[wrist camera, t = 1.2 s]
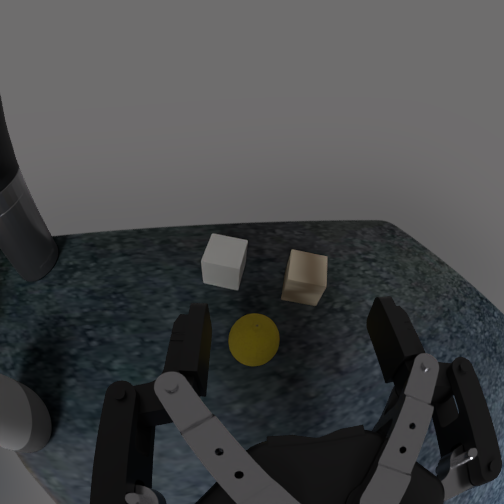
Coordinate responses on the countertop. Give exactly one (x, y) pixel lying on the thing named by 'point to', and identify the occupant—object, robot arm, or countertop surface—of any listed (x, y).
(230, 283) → the off-white block
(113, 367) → the countertop surface
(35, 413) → the smart speaker
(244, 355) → the lemon
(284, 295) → the birch block
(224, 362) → the countertop surface
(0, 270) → the countertop surface
